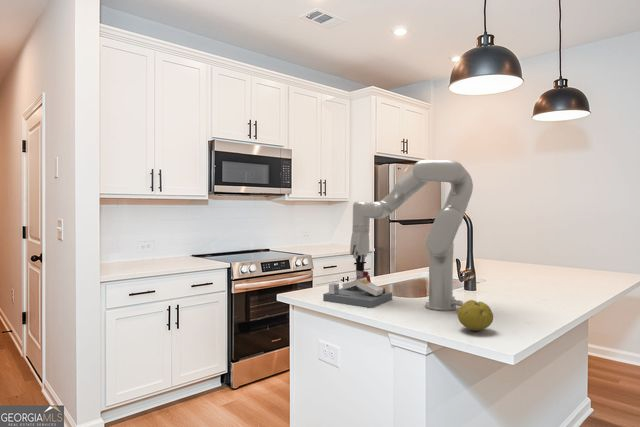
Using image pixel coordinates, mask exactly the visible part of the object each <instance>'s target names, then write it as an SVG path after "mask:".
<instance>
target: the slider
mask: <svg viewBox="0 0 640 427" xmlns="http://www.w3.org/2000/svg"><path fill="white" fill-rule="evenodd" d="M339 289H340V284H339V283H336V282H333V283H330V284H328V292H329V294H337V293H339Z"/></svg>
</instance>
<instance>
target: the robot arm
mask: <svg viewBox="0 0 640 427" xmlns="http://www.w3.org/2000/svg"><path fill="white" fill-rule="evenodd" d="M430 182H435V183H436V182H437V183H438V182H439V183H449V184H450V190H449V192H448V195H447V198H446V201H445V203H444V205H443V208H441V209H440V210H439V211H438V212H437V214H436V216H435V218H434V221H433V223H432V226H431V229H430V231H429V233H428V236H427V239H426V243H425V244H426V249H427V251H428V252H429V255H428V256H429V257H428V258H429V259H428V301H427V302H425V303H424V308H426V309H429V310H434V311H441V312H442V311H444V312H447V311H455V310H456V309H457V306H459V307H460V306H461V305H462V304H464V301H462V300H459V299H458V300H457V299H455V298H456V297H455V296H453V295H454V294H453V293H454V292H453V291H454V289H453V284H454V282H453V281H454V280H453V279H454V276H453V273H454V272H453V270H454V268H453V267H454V240H455V239H456V236H457V233H458V230H459V228H460V226H461V225H462V223H463V219H464V216H465V214H466V211H467V208H468V205H469V203H470V199H471V197H472V194H473V188H474V185H473V184H474V183H473V179H472V176H471V175H470V173H469V172H468V171H467V169H466V168H465V167H464V166H463V165H462V164H461V163H460V162H458V161H456V160H440V159H439V160H437V159H436V160H435V159H434V160H433V159H421V160H418V161H417V162H415V164H413V167H412V169H411V170H410V171H409V172H408V173H406V174H405V175H404V176H403V177H401V178H400V179H399V180H398V181H397V182H396V183H395V185H394V186H393V189H392V190H391V191H390V192H389V193H388V194H387V195H386V196H384V197H383V199H381V200H380V201H370V202H368V201H355V202H353V204H352V228H351V229H352V231H351V233H352V234H351V238H350V246H349V249H350V250H349V253H350V255H352V258H353V259H355V272H356V271H365V261H366V257H367V256H368V254H369V253H370V226H371V225H370V223H371V221H370V219H375V220H379V219H384V218H386V217H388V216H390V215H391V214H392V213H393V212H395V211H396V210H397V209H398V208H400V207H401V206H402V205H403V204H404V203H405V202H407V201H408V200H410V198H411V197H412V196H413V195H415V194H416V193H417V192H418V191H420V190H421V189H422V188H424V187H425V186H426V185H427V184H429V183H430Z"/></svg>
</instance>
